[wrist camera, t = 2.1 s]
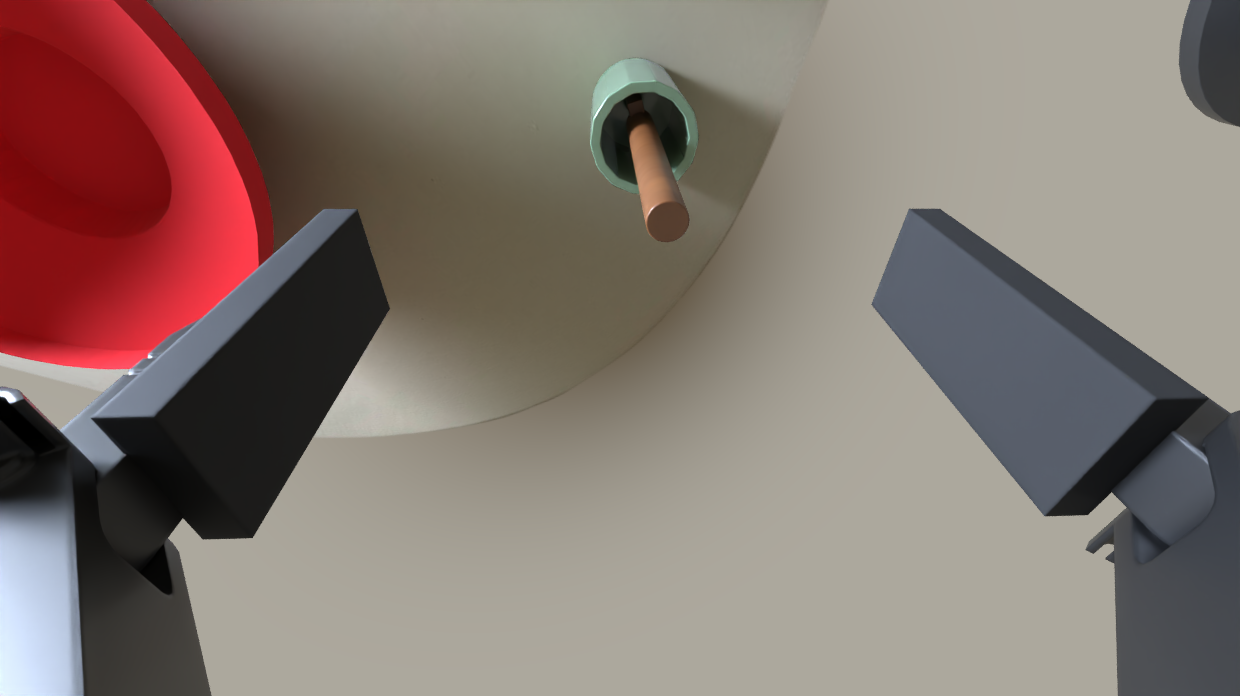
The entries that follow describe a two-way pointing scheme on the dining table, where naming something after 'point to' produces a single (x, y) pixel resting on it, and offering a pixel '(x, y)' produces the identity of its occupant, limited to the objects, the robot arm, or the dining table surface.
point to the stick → (654, 176)
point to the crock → (658, 100)
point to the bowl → (115, 184)
